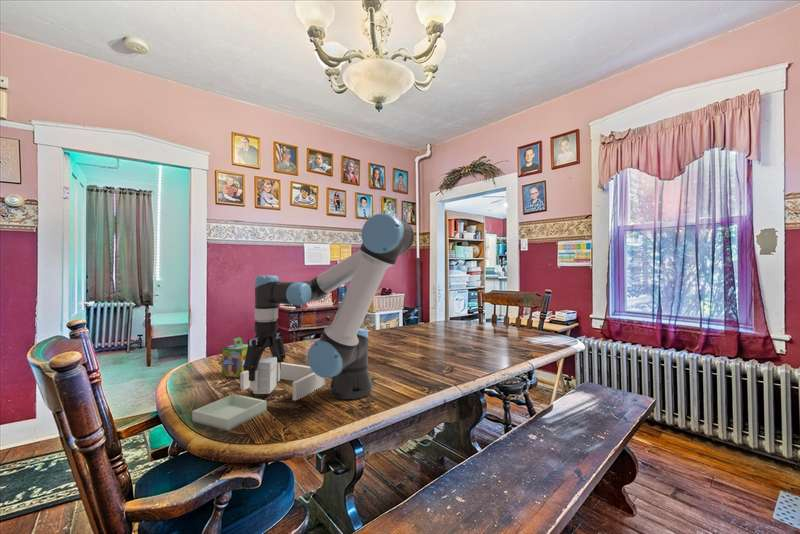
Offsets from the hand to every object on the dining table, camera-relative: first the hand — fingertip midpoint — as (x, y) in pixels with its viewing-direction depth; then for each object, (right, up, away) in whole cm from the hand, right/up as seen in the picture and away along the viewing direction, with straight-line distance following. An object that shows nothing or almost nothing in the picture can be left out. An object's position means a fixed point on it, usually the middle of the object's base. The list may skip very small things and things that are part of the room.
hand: (265, 385), depth 114 cm
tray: (-4, -4, -16) cm, 16 cm away
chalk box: (-20, -4, +22) cm, 30 cm away
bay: (+3, -4, +8) cm, 10 cm away
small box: (0, -2, 0) cm, 2 cm away
